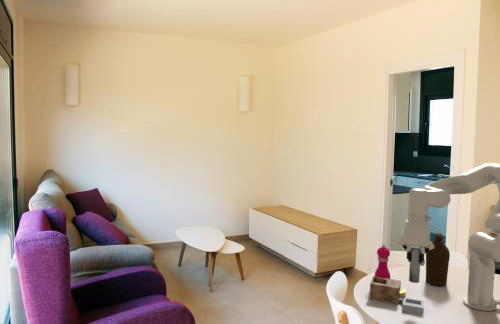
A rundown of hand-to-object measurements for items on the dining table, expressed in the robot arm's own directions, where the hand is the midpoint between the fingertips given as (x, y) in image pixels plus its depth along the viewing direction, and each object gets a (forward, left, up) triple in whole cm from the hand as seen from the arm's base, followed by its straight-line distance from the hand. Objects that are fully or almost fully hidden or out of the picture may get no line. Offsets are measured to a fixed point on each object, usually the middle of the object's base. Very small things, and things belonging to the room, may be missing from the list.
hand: (415, 261), depth 169 cm
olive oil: (-9, -36, -21) cm, 43 cm away
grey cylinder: (0, 0, -8) cm, 8 cm away
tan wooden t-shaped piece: (+7, -7, -20) cm, 22 cm away
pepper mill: (+15, -22, -21) cm, 34 cm away
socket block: (+12, -7, -20) cm, 25 cm away
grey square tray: (0, 0, -20) cm, 20 cm away
